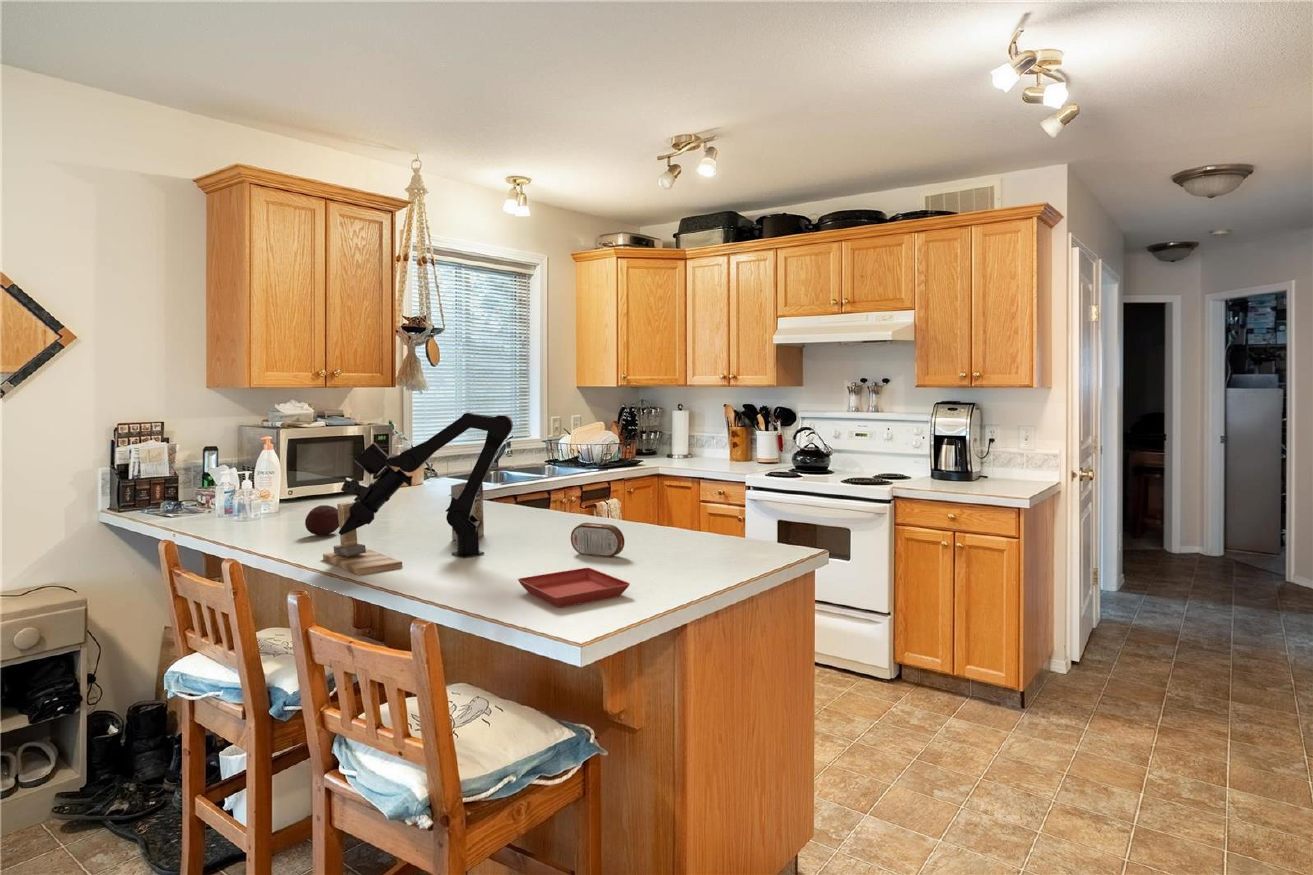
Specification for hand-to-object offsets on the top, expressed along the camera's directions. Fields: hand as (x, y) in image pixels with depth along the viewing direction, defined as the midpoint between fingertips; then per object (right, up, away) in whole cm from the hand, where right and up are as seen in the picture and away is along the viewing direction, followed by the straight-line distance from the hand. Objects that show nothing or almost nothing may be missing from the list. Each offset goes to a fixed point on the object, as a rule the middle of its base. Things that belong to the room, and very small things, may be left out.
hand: (340, 532), depth 202 cm
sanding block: (+2, -6, +1) cm, 6 cm away
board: (+6, -8, -2) cm, 10 cm away
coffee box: (+25, -5, +31) cm, 41 cm away
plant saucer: (+64, -10, -34) cm, 73 cm away
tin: (+66, -7, +4) cm, 66 cm away
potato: (-20, -6, +37) cm, 43 cm away
